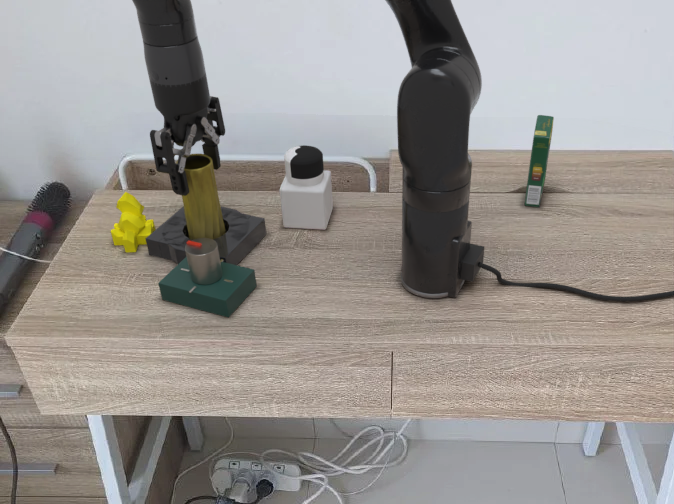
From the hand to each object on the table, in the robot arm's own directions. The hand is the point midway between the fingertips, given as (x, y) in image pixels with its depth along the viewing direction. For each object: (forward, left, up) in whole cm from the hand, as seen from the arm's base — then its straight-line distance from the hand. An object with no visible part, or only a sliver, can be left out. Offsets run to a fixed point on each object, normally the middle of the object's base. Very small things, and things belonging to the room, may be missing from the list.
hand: (198, 180), depth 116 cm
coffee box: (-44, -34, -12) cm, 57 cm away
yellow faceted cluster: (+12, +3, -12) cm, 17 cm away
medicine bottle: (-11, -13, -12) cm, 20 cm away
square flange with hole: (0, 0, -11) cm, 11 cm away
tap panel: (-7, +11, -11) cm, 17 cm away
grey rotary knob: (-7, +11, -8) cm, 15 cm away
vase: (0, 0, -12) cm, 12 cm away
